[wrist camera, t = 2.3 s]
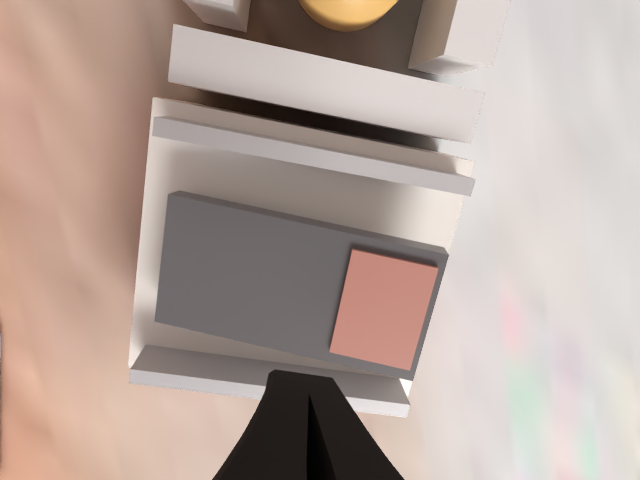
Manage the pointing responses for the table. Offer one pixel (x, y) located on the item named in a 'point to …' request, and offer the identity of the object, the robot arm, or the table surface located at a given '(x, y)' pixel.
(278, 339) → the rocker switch
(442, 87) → the button guard
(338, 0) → the button
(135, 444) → the table surface
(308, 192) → the box
